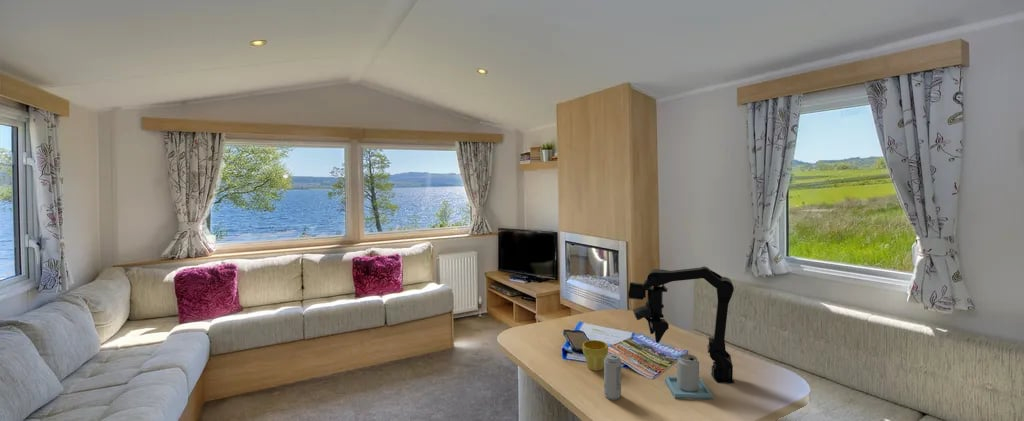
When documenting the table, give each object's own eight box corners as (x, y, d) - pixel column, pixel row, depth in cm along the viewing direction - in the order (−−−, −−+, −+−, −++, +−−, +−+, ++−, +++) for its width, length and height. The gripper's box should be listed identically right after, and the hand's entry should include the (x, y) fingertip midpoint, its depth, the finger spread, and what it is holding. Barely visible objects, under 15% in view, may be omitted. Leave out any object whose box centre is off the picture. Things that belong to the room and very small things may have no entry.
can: (700, 394, 154) (701, 362, 153) (678, 392, 155) (679, 360, 154) (696, 384, 161) (697, 353, 160) (675, 382, 163) (675, 352, 162)
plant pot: (582, 361, 184) (582, 339, 183) (606, 362, 182) (606, 340, 181) (583, 372, 173) (583, 349, 173) (609, 373, 172) (609, 350, 171)
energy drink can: (606, 390, 159) (607, 351, 157) (623, 394, 156) (623, 354, 154) (601, 398, 154) (601, 357, 152) (618, 402, 151) (618, 361, 149)
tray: (699, 381, 164) (699, 377, 164) (712, 399, 151) (712, 394, 151) (664, 380, 165) (664, 376, 165) (674, 398, 152) (674, 393, 152)
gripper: (630, 294, 183) (630, 329, 185) (639, 308, 165) (639, 347, 166) (656, 294, 182) (656, 329, 184) (669, 308, 164) (668, 347, 165)
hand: (654, 338), depth 175 cm, fingers open, 9 cm apart
